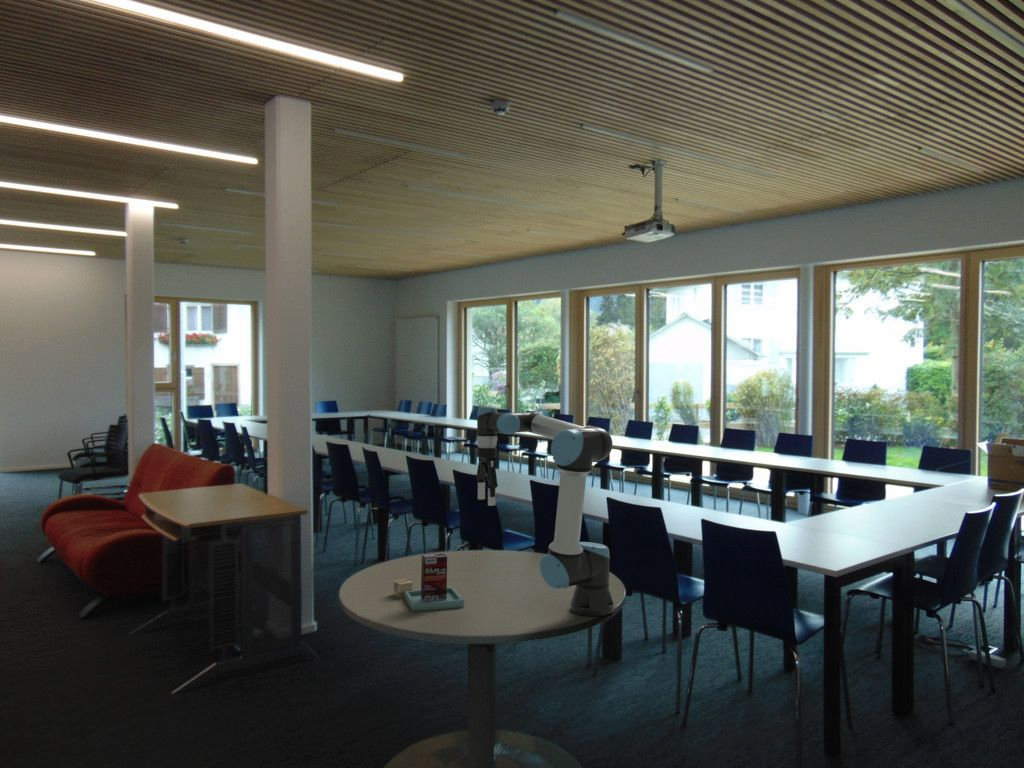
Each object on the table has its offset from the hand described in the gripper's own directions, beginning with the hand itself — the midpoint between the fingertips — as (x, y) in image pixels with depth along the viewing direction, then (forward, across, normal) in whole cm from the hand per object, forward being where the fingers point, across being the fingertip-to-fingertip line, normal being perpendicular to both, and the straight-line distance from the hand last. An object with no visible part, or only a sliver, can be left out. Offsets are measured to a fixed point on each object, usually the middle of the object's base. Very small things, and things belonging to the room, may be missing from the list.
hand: (486, 502), depth 286 cm
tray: (+33, -12, +23) cm, 42 cm away
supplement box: (+32, -12, +23) cm, 41 cm away
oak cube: (+33, 0, +32) cm, 46 cm away
